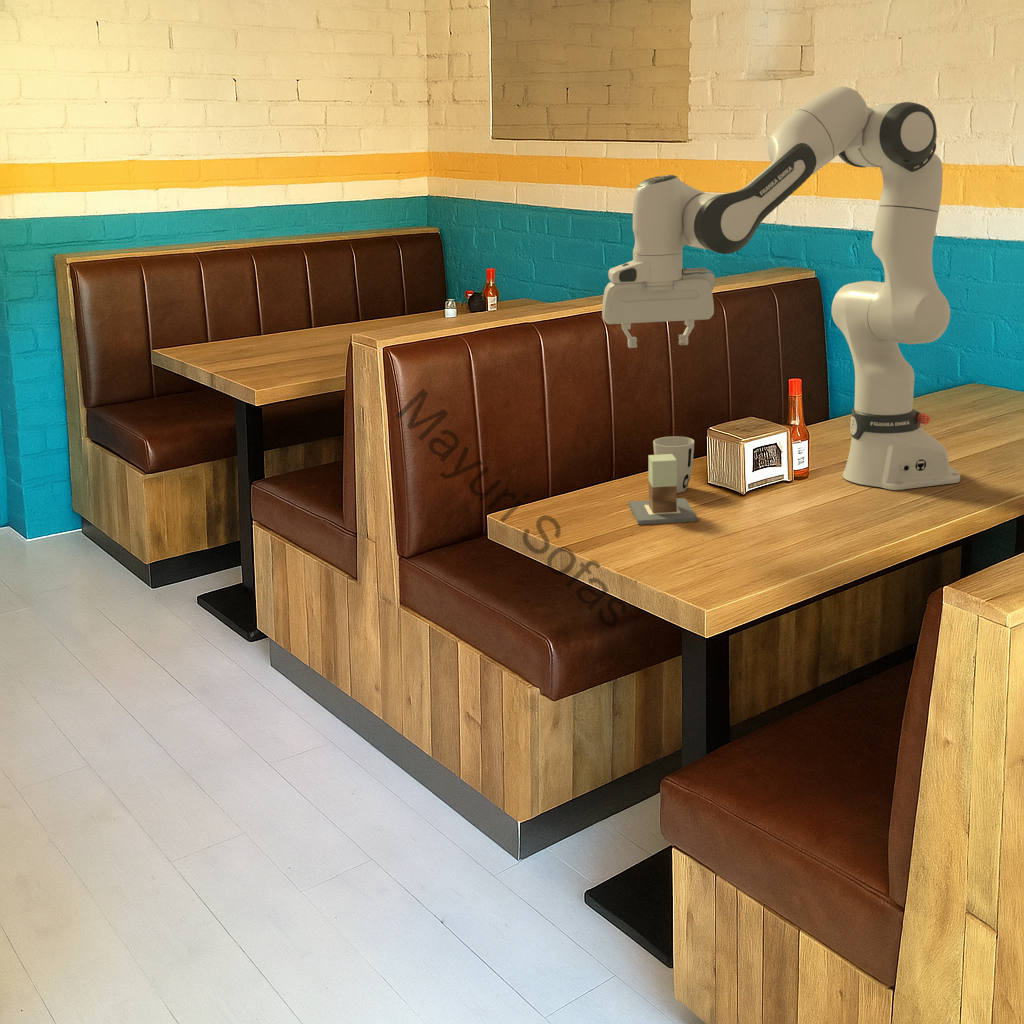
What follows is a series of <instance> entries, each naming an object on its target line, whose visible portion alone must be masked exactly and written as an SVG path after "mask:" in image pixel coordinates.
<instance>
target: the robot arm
mask: <svg viewBox="0 0 1024 1024" xmlns="http://www.w3.org/2000/svg"><path fill="white" fill-rule="evenodd" d="M937 133H938V130H937V123H936V119H935V116H934V115H933V113H932V111H931V110H930V109H929V108H928V107H926V106H925V105H922V104H920V103H916V102H912V101H903V102H897V103H896V102H895V103H894V102H893V103H891V102H890V103H883V104H878V105H876V106H871V107H869V106H868V105H867V103H866V101H865V99H864V97H863V96H862V95H861V94H860V93H859V91H857V90H855V89H853V88H851V87H848V86H837V87H835V88H832V89H830V90H827V91H825V92H824V93H822V94H820V95H818V96H817V97H815V98H813V99H811V100H809V101H808V102H807V103H805V104H804V105H802V106H801V107H800V108H798V109H796V110H795V111H794V112H793V113H791V114H790V115H789V116H788V117H786V118H785V119H784V120H783V121H782V122H780V124H779V125H777V126H776V128H775V129H774V130H773V131H772V132H771V134H770V136H769V138H768V143H767V144H768V145H767V151H768V156H769V160H770V164H769V165H768V166H767V167H765V169H763V170H762V171H761V172H760V173H758V174H757V175H756V176H755V177H754V178H753V179H752V180H750V181H749V182H748V183H747V184H745V185H744V186H743V187H742V188H740V189H738V190H736V191H732V192H728V193H711V192H710V193H709V192H707V193H706V192H704V191H702V190H699V189H697V188H695V187H692V186H690V185H688V184H686V183H685V182H684V181H682V180H681V179H680V178H679V177H678V176H677V175H674V174H665V175H661V176H655V177H650V178H647V179H645V180H643V181H641V182H640V183H639V184H637V186H636V188H635V192H634V197H633V205H632V231H633V236H634V246H633V250H632V260H630V261H627V262H625V263H622V264H619V265H617V266H614V267H611V268H610V269H609V270H608V272H607V273H608V280H609V282H608V283H607V285H606V286H605V288H604V292H603V297H602V307H601V308H602V309H601V311H602V312H601V316H602V317H601V318H602V320H603V321H604V322H605V323H606V324H607V325H619V324H620V325H621V330H622V331H623V332H624V335H625V336H626V338H627V347H628V348H629V349H632V348H633V349H634V348H637V347H638V344H637V343H638V337H636V336H632V335H631V333H630V332H629V330H631V328H632V327H631V326H632V325H631V324H639V323H641V324H642V323H660V322H680V321H681V322H683V321H684V325H685V326H686V327H685V329H684V332H683V333H682V334H678V339H679V340H678V345H679V346H688V345H689V336H690V334H691V332H692V331H693V330H694V328H695V321H702V320H710V319H711V318H712V316H714V314H715V306H714V305H715V304H714V296H713V290H714V289H715V283H716V282H715V281H716V278H715V277H716V276H715V274H714V273H713V272H712V271H711V270H710V269H707V268H706V267H697V268H693V267H689V268H688V267H685V268H683V248H684V246H688V247H692V248H697V249H701V250H702V249H703V250H709V251H712V252H714V253H717V254H722V255H729V254H733V253H736V252H738V251H740V250H741V249H743V248H744V247H746V245H747V244H748V243H749V242H750V241H751V239H752V237H754V235H755V233H756V231H757V230H758V228H759V226H760V225H761V224H762V222H763V221H764V220H765V218H766V217H767V216H769V214H771V213H772V212H773V211H774V210H775V209H776V208H778V207H779V205H781V204H782V203H783V202H785V201H786V199H787V198H788V197H790V196H791V195H792V194H793V193H794V192H796V191H797V190H798V189H799V188H800V187H801V186H802V185H803V184H804V183H805V182H806V181H808V179H810V177H811V176H812V175H814V174H815V173H817V172H818V171H819V170H820V169H822V168H823V167H824V166H826V165H827V164H828V163H830V162H831V161H833V160H834V159H835V158H836V157H837V156H838V157H839V158H840V159H841V160H842V161H843V162H844V163H846V164H848V165H849V166H852V167H856V168H879V170H880V172H881V175H882V176H881V177H882V181H883V182H882V191H881V194H880V197H879V201H878V202H879V203H878V208H877V213H876V218H875V223H874V228H873V229H874V230H873V234H872V238H871V239H872V240H871V248H872V252H873V253H874V255H875V256H876V257H878V259H879V260H880V262H881V264H882V267H883V271H884V281H882V282H881V281H873V280H862V281H855V282H851V283H847V284H844V285H842V287H840V288H839V289H838V290H837V291H836V293H835V295H834V298H833V300H832V304H831V317H832V320H833V322H834V324H835V325H836V327H837V328H838V329H839V330H840V331H841V333H842V334H843V336H844V338H845V340H846V342H847V345H848V347H849V350H850V353H851V358H852V361H853V366H854V378H855V379H854V407H853V408H852V409H851V417H850V436H851V441H850V448H849V453H848V457H847V460H846V465H845V467H844V469H843V473H842V477H843V479H845V480H847V481H849V482H850V483H855V484H858V485H862V486H868V487H869V486H870V487H878V488H881V489H882V488H883V489H886V490H891V491H900V490H901V491H902V490H908V489H915V488H916V489H917V488H924V487H932V486H940V485H941V486H942V485H943V486H944V485H949V484H956V483H960V481H961V474H960V472H958V471H957V470H956V469H955V468H954V467H952V466H950V461H949V460H950V459H949V455H948V452H947V451H948V450H947V449H946V447H945V446H944V445H943V444H942V443H941V442H940V441H938V439H936V438H935V437H933V436H932V435H931V434H929V432H927V431H926V430H925V429H923V428H922V427H921V424H922V425H928V424H929V422H931V416H929V414H927V413H925V412H920V411H918V410H916V409H914V408H913V405H914V404H913V402H914V389H915V372H914V368H913V367H912V365H911V364H910V362H908V361H907V360H906V359H905V357H904V356H903V354H902V352H901V350H900V347H899V346H900V345H899V343H900V344H906V345H917V344H927V343H928V344H929V343H932V342H933V343H934V342H935V341H937V340H938V339H940V337H942V335H944V333H945V331H946V330H947V328H948V327H949V323H950V320H951V307H950V304H949V301H948V299H947V297H946V296H945V295H944V294H943V293H942V291H941V290H940V288H939V286H938V283H937V281H936V277H935V273H934V267H933V266H934V265H933V249H934V248H933V247H934V240H935V235H936V228H937V223H938V219H939V217H938V216H939V212H940V209H941V208H940V207H941V200H942V191H943V170H944V169H943V163H942V159H941V158H940V157H939V156H938V155H937V154H936V153H935V152H936V149H937V136H938V134H937Z"/></svg>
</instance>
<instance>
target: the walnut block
mask: <svg viewBox="0 0 1024 1024" xmlns="http://www.w3.org/2000/svg"><path fill="white" fill-rule="evenodd" d="M677 494H678V493H677V486H669V487H652V486H651V484H650V482H649V481H648V500H649V507H650V509H651V511H652V513H664V512H677V499H678V498H677V497H678V495H677Z"/></svg>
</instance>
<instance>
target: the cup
mask: <svg viewBox="0 0 1024 1024" xmlns="http://www.w3.org/2000/svg"><path fill="white" fill-rule="evenodd" d="M652 443H653V444H652V445H653V455H662V454H673V456H674V457H675V459H676V460H677V494H679V493H684V492H685V491H687V489H688V486H689V483H690V481H691V475H692V470H693V463H694V453H695V452H694V451H695V440H694V439H693V438H690V437H687V436H664V437H659V438H655V439H654V440H653V441H652Z"/></svg>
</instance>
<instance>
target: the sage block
mask: <svg viewBox="0 0 1024 1024" xmlns="http://www.w3.org/2000/svg"><path fill="white" fill-rule="evenodd" d="M647 461H648V483H649V482H650V484H651V486H652V487H669V486H677V460H676V459H675V457H674V456H673V454H662V455H654V454H648V460H647Z"/></svg>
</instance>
